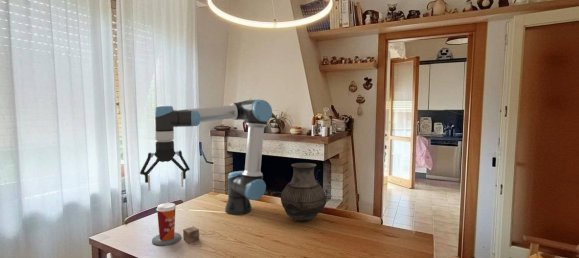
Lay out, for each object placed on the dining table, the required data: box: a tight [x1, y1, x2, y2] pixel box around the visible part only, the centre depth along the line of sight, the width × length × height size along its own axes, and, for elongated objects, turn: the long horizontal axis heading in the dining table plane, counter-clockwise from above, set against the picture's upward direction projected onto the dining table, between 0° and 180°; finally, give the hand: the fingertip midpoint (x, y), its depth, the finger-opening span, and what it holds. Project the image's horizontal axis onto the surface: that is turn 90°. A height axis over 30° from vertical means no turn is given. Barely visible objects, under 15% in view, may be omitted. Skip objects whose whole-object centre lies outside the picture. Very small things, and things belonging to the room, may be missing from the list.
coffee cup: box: [155, 202, 177, 241], centre depth 131 cm, size 8×8×15 cm
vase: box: [280, 162, 327, 222], centre depth 156 cm, size 25×25×30 cm
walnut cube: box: [182, 226, 200, 244], centre depth 131 cm, size 5×5×5 cm
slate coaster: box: [151, 231, 182, 247], centre depth 131 cm, size 12×12×1 cm
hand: (166, 187), depth 130 cm, fingers open, 13 cm apart
